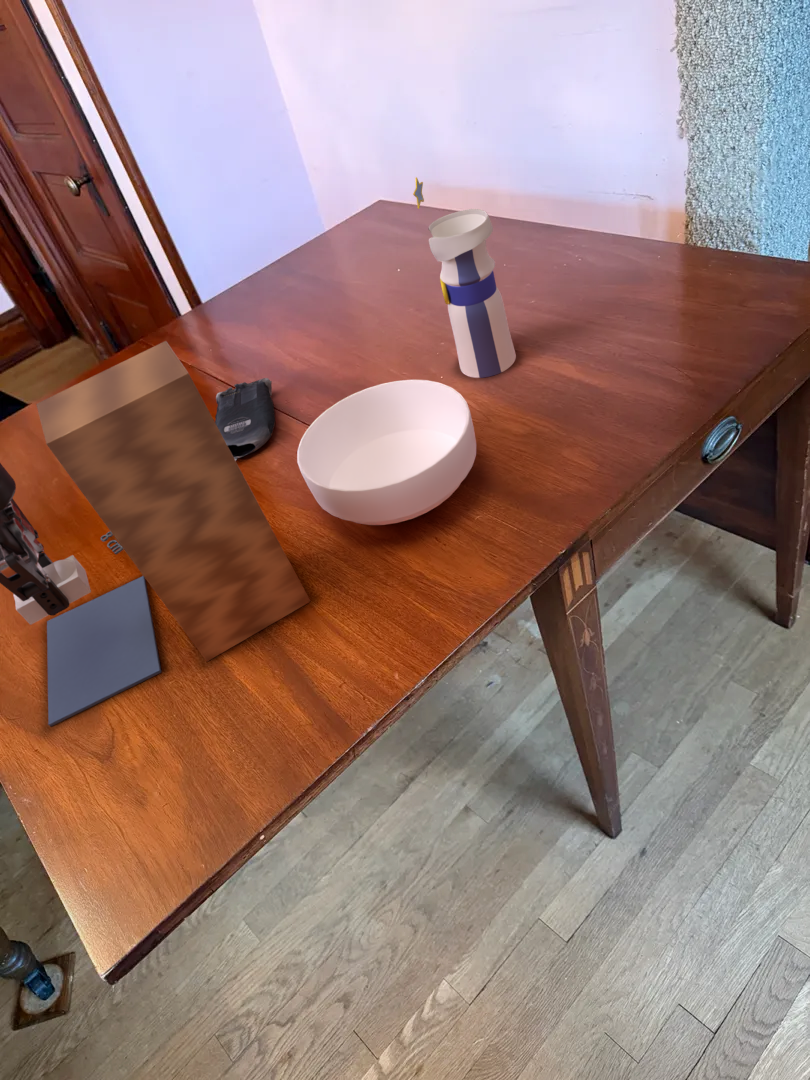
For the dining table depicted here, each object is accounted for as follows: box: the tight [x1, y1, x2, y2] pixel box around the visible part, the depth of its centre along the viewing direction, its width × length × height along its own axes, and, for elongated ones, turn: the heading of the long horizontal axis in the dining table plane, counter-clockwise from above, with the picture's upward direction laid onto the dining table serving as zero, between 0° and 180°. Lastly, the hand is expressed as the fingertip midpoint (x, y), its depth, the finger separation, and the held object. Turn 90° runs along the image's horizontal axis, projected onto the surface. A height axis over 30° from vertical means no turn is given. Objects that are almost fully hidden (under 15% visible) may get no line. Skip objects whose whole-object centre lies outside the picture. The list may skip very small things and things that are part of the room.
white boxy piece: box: [12, 554, 92, 626], centre depth 75 cm, size 7×4×4 cm, turn 118°
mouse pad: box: [46, 575, 162, 727], centre depth 81 cm, size 16×12×1 cm
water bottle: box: [412, 176, 517, 379], centre depth 93 cm, size 8×9×25 cm
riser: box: [35, 340, 311, 662], centre depth 70 cm, size 12×8×28 cm, turn 118°
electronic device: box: [214, 377, 276, 462], centre depth 105 cm, size 9×6×15 cm
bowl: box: [296, 379, 477, 526], centre depth 84 cm, size 20×20×8 cm
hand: (57, 595), depth 76 cm, fingers closed on white boxy piece, 4 cm apart
